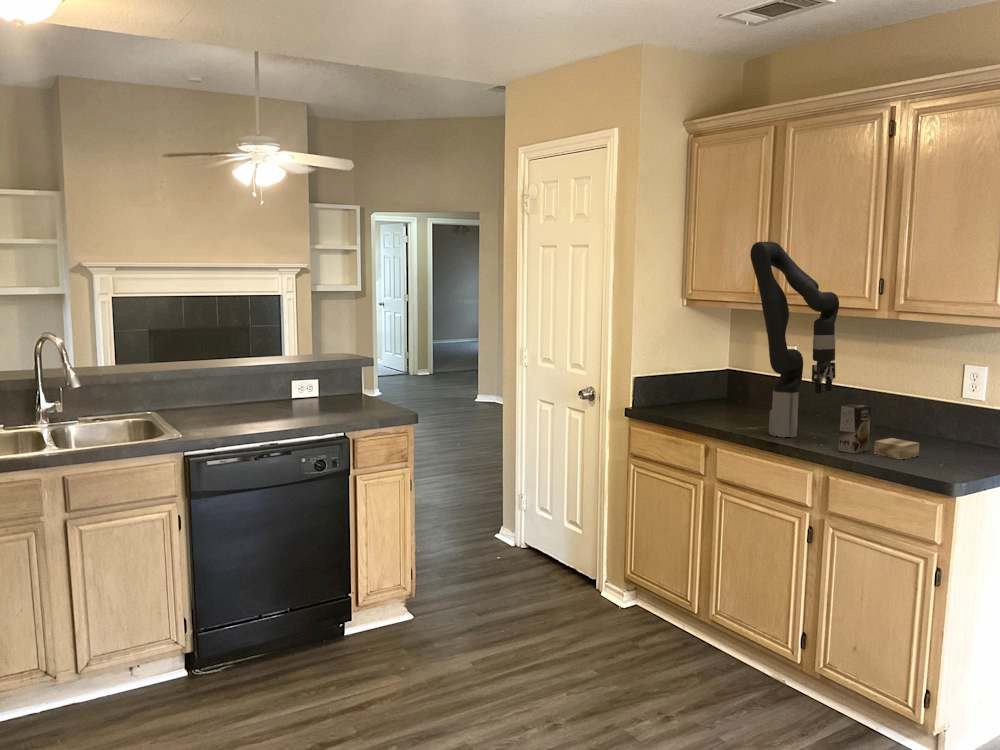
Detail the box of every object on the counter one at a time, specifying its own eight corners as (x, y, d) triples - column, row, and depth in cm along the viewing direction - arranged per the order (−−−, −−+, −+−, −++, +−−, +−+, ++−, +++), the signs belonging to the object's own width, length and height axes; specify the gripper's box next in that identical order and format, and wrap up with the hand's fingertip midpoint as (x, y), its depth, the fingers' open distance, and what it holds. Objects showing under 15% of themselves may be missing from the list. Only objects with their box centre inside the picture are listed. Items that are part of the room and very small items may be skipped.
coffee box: (855, 454, 270) (858, 408, 268) (837, 450, 275) (840, 405, 273) (869, 450, 275) (872, 405, 273) (851, 447, 280) (854, 403, 278)
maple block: (873, 455, 270) (874, 441, 269) (890, 451, 275) (891, 437, 274) (902, 461, 261) (903, 446, 261) (918, 457, 267) (919, 443, 266)
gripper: (822, 346, 291) (821, 389, 292) (804, 348, 281) (804, 393, 282) (842, 346, 285) (842, 390, 287) (825, 349, 275) (825, 394, 277)
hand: (823, 392), depth 284 cm, fingers open, 8 cm apart
